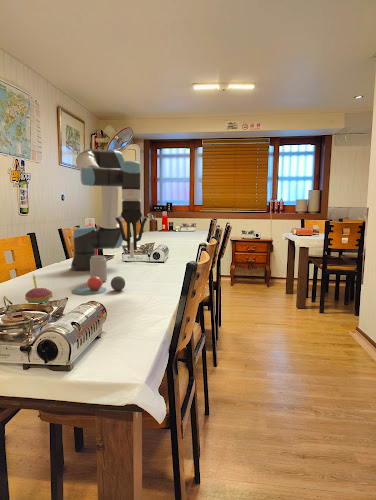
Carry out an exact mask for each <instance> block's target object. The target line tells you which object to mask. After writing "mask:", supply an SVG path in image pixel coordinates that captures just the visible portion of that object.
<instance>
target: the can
mask: <svg viewBox="0 0 376 500" xmlns="http://www.w3.org/2000/svg"><path fill="white" fill-rule="evenodd" d="M91 257H92V258H91V259H90V270H89V273H90V275H89V276H90V277H89V278H91V277H93V276H97V277H99V278H100V279H101V280H102V283H105V282H106V281H107V280H108V272H107V271H108V269H107V268H108V267H107V265H108V263H107V258H106V256H105V255H100V254H99V255H97V254H96V256H91Z"/></svg>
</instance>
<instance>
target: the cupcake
mask: <svg viewBox="0 0 376 500" xmlns="http://www.w3.org/2000/svg"><path fill="white" fill-rule="evenodd" d="M32 280H33V285H34V287H33V288H32V289H30V290H28V291H26V293H25V294H24V296H25V298H24V299H25V301H26V302H27V303H28V304H29V303H43V302H48V303H49V301H50V299H51V298H53V292H52V291H51V290H49V289H48V288H45V287H38V286H37V281H36V276H35V275H34V273H32Z"/></svg>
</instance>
